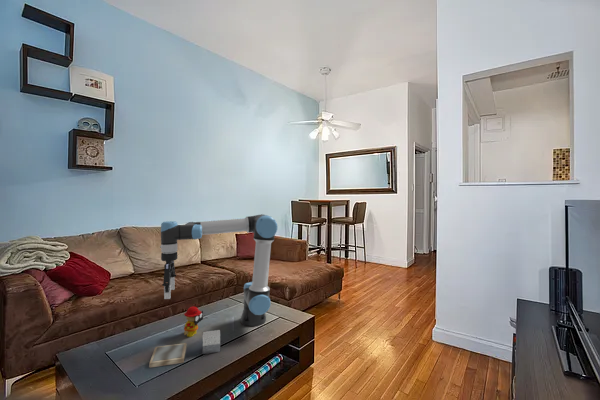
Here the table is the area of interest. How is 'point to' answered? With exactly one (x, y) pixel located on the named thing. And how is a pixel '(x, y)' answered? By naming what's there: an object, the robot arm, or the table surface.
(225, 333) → the table surface
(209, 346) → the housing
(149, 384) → the table surface
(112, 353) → the table surface
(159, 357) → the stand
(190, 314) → the toy
